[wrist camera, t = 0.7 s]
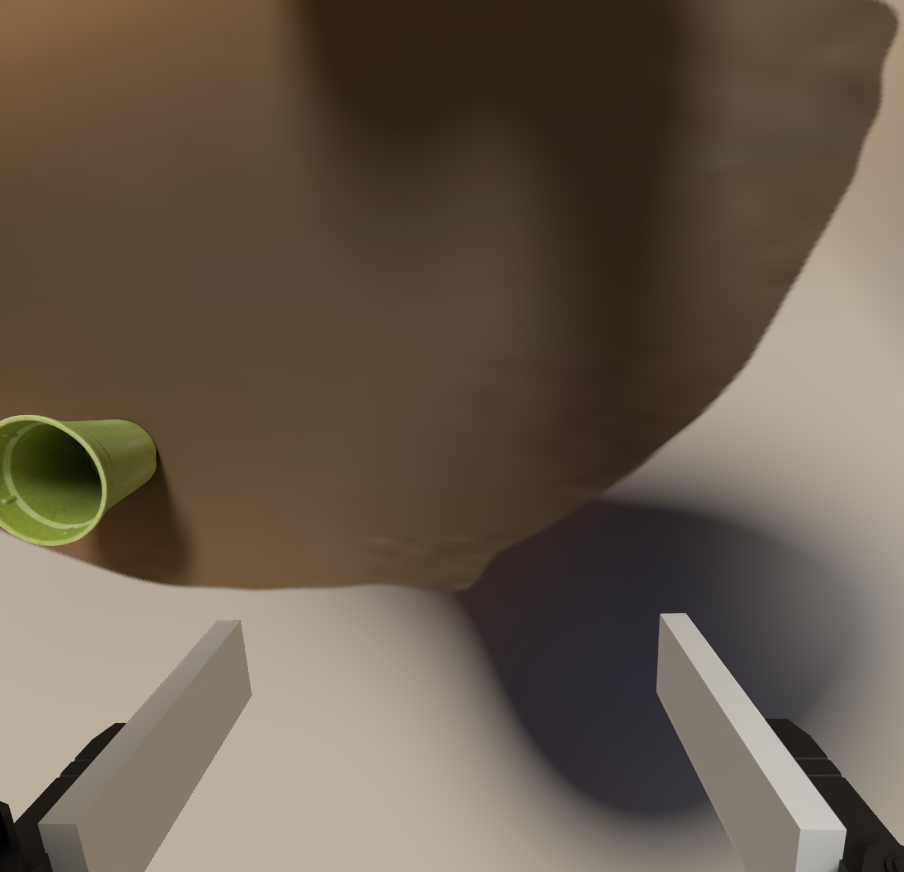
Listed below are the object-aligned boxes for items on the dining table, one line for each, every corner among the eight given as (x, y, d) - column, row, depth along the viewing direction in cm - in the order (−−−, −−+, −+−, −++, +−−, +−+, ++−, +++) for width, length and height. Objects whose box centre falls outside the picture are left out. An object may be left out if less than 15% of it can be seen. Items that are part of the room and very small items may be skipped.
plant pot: (118, 375, 41) (26, 386, 33) (200, 458, 42) (131, 489, 34) (50, 447, 43) (-55, 476, 34) (131, 525, 44) (49, 571, 35)
